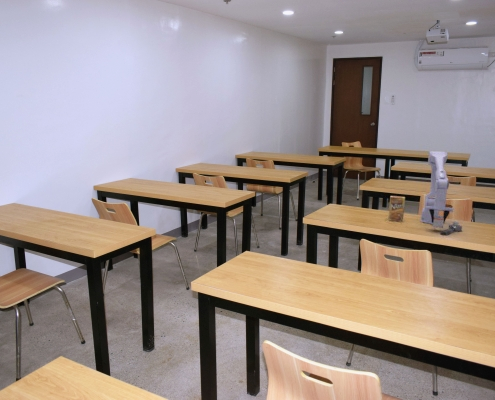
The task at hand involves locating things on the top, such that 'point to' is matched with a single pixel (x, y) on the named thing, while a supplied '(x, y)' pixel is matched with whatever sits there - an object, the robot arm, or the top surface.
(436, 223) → the red-striped grey block
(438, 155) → the robot arm
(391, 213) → the candy box
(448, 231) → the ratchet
